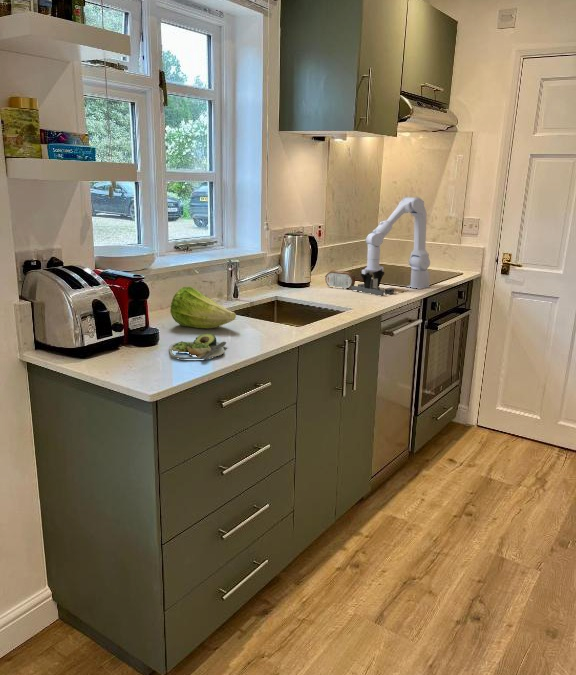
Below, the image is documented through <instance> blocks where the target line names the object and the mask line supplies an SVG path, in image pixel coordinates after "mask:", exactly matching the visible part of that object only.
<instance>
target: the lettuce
mask: <svg viewBox="0 0 576 675" xmlns="http://www.w3.org/2000/svg"><path fill="white" fill-rule="evenodd" d="M169 313H170V315H171V317H172V319H173V320H174V321H175V323H177V324H179V325H180V326H184V327H190V328H195V329H213V328H217V327H220V326H223V325H225V324H229V323H231V322H233V321H234V320H236V317H237V314H236V313H235V312H234V311H231V310H228V309H227V308H226V307H225V306H222V305H220V304H218V303H217V302H215V301H214V300H212V299H211V298H209V297H207V296H205V295H204V294H203V293H201V292H200V291H198V290H197V289H196V288H194V287H191V286H183V287H182V288H180V289H179V290H177V292H176V293H174V295H173V297H172V300H171V302H170V311H169Z"/></svg>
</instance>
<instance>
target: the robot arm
mask: <svg viewBox="0 0 576 675" xmlns="http://www.w3.org/2000/svg"><path fill="white" fill-rule="evenodd" d="M408 213H409V214H411V215H412V216H413V217H414V223H413V224H414V226H413V227H414V228H413V229H414V230H413V232H414V234H413V250H412V251H411V252H410V257H409V260H408V265H409V266H410V269H411V271H410V284H409V285H406V287H407V288H410V287H411V288H410V289H416V288H417V289H418V290H423V289H427V288H431V285H430V275H431V274H430V271H429V269H428V268H429V267H430V265H431V260H430V256H429V255H430V254H429V253H428V251H427V250H426V242H427V241H426V240H427V239H426V238H427V237H426V236H427V210H426V207H425V201H424V200H423V199H422V198H421V197H418V196H417V197H411V196H404V197H403V198H402V200H401V201H399V202H398V205H397V206H396V208H395V209H394V210H393V212H392V213H391V214H390V215H389V216H388V218H387V219H386V220H382V221H380V222H379V225H377V227H376V228H375V229H373V230H372V232H371V233H369V234H368V235H367V236H366V238H365V243H366V245H367V258H366V267H365V268H364V269H361V273H360V276H361V279H362V281H363V284H364V285H365V288H370V282H371V278H377V279H378V286H377V287H380V284H381V282H382V279H383V277H384V275H385V272H384V269H385V268H384V266H380V260H381V258H380V256H381V245H382V244H384V243H383V242H384V239H385V237H386V236H387V235H388V234H389V233H390V231H392V230H393V224H395V223H396V222H397V221H398V220H399V219H400V218H401V217H402V216H403V215H405V214H408Z"/></svg>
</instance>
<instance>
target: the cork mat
mask: <svg viewBox="0 0 576 675" xmlns="http://www.w3.org/2000/svg"><path fill="white" fill-rule="evenodd" d="M388 288H394V293H396V292H398V293H397V294H400V292H402V293H405V292H404V291H406V292H409V289H406V288H405V289H404V288H398V287H387V288H386V287H385V288H384V290H385V289H388Z"/></svg>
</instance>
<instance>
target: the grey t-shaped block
mask: <svg viewBox="0 0 576 675" xmlns="http://www.w3.org/2000/svg"><path fill="white" fill-rule="evenodd" d="M377 286H378V279H377V278H374V277H372V278H371V282H370V288H371V289H377V290H383V291H384V289H385V287H380V286H379V287H377ZM384 292H385V291H384Z"/></svg>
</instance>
